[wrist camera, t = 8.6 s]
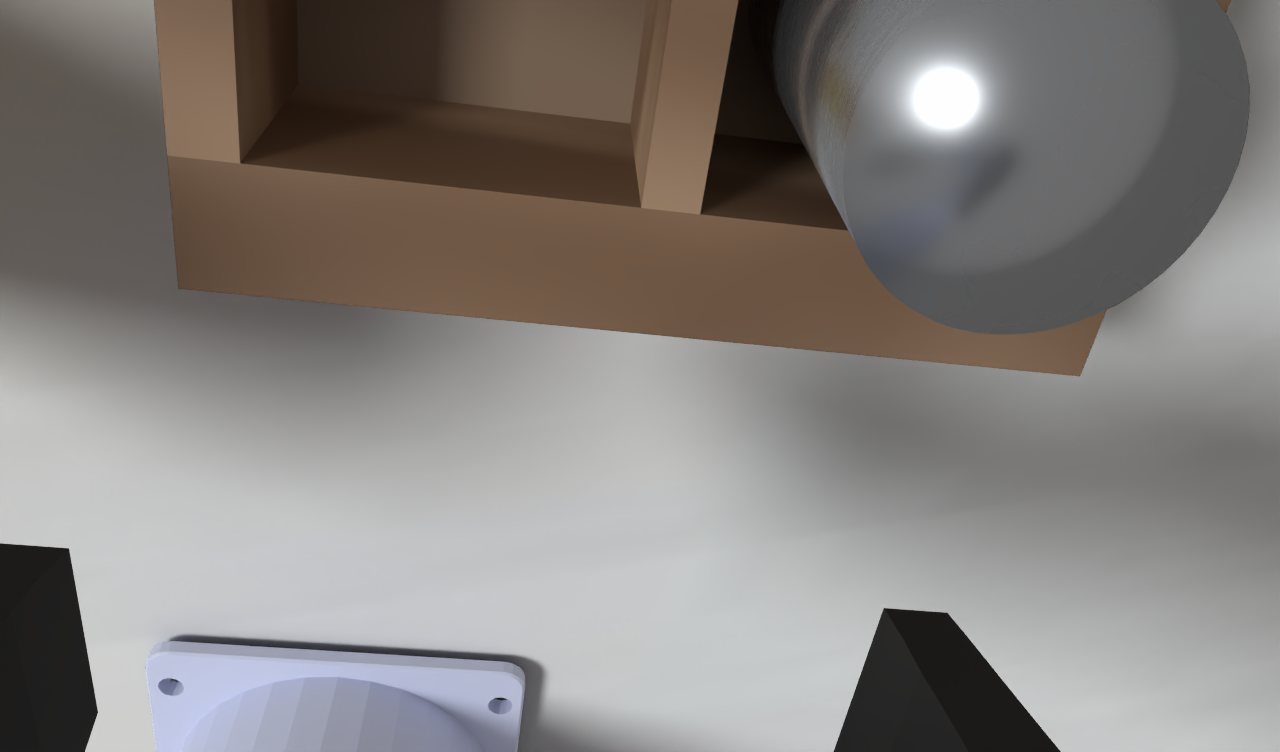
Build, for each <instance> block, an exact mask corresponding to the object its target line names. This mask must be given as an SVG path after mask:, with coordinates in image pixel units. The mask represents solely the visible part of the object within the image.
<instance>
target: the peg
mask: <svg viewBox="0 0 1280 752" xmlns="http://www.w3.org/2000/svg"><path fill="white" fill-rule="evenodd" d="M748 16H749V26H750V32H751V36H752V41H753V45H754V48H755V50H756V53H757V56H758V58H759V61H760V63H761V65H762V67H763V69H764V70H765V72H766V74H767V76H768V78H769V80H770V82H771V84H772V86H773V88H774V89H775V91H776V93H777V95H778V97H779V99H780V101H781V103H782V105H783V107H784V109H785V110H786V112H787V114H788V116H789V118H790V120H791V122H792V124H793V126H794V128H795V129H796V131H797V133H798V135H799V137H800V139H801V141H802V143H803V145H804V147H805V149H806V150H807V152H808V154H809V156H810V158H811V160H812V162H813V164H814V166H815V168H816V169H817V171H818V173H819V175H820V177H821V179H822V181H823V183H824V185H825V187H826V188H827V190H828V192H829V194H830V196H831V198H832V200H833V202H834V204H835V206H836V208H837V209H838V211H839V213H840V215H841V217H842V219H843V221H844V223H845V225H846V227H847V228H848V230H849V232H850V234H851V236H852V238H853V240H854V242H855V244H856V246H857V247H858V249H859V251H860V253H861V255H862V257H863V258H864V260H865V262H866V264H867V266H868V267H869V269H870V270H871V271H872V272H873V274H874V275H875V276H876V278H877V279H878V280H879V282H880V283H881V284H882V285H883V286H884V287H885V288H886V289H887V290H888V291H889V292H890V293H891V294H892V295H893V296H895V297H896V298H897V299H898V300H899V301H901V302H902V303H904V304H905V305H906V306H908V307H909V308H911V309H912V310H914V311H915V312H917V313H919V314H921V315H923V316H925V317H927V318H929V319H931V320H933V321H935V322H938V323H941V324H944V325H947V326H950V327H952V328H955V329H960V330H965V331H970V332H975V333H984V334H997V335H1008V334H1027V333H1033V332H1039V331H1046V330H1051V329H1055V328H1058V327H1062V326H1066V325H1070V324H1073V323H1076V322H1078V321H1081V320H1084V319H1086V318H1089V317H1092V316H1094V315H1097V314H1099V313H1101V312H1103V311H1105V310H1107V309H1109V308H1111V307H1113V306H1115V305H1117V304H1119V303H1121V302H1122V301H1124V300H1125V299H1127V298H1128V297H1130V296H1132V295H1133V294H1135V293H1136V292H1138V291H1140V290H1141V289H1143V288H1144V287H1145V286H1146V285H1148V284H1149V283H1150V282H1152V281H1153V280H1154V279H1155V278H1157V277H1158V276H1159V275H1161V274H1162V273H1163V272H1164V271H1165V270H1166V269H1167V268H1168V267H1170V266H1171V265H1172V264H1173V263H1174V262H1175V261H1176V260H1177V259H1178V258H1179V257H1180V256H1181V255H1182V254H1183V253H1184V252H1185V251H1186V250H1187V248H1188V247H1189V246H1190V245H1191V244H1192V243H1193V241H1194V240H1195V239H1196V238H1197V237H1198V236H1199V234H1200V233H1201V232H1202V230H1203V229H1204V228H1205V226H1206V225H1207V223H1208V222H1209V220H1210V219H1211V217H1212V216H1213V215H1214V213H1215V212H1216V210H1217V208H1218V206H1219V204H1220V203H1221V201H1222V199H1223V197H1224V195H1225V194H1226V192H1227V190H1228V188H1229V186H1230V183H1231V181H1232V178H1233V176H1234V173H1235V171H1236V169H1237V166H1238V164H1239V160H1240V156H1241V153H1242V149H1243V146H1244V142H1245V138H1246V132H1247V125H1248V118H1249V81H1248V74H1247V67H1246V61H1245V58H1244V55H1243V51H1242V48H1241V45H1240V41H1239V38H1238V36H1237V34H1236V32H1235V30H1234V28H1233V26H1232V24H1231V22H1230V20H1229V18H1228V16H1227V15H1226V14H1225V12H1224V11H1223V9H1222V8H1221V7H1220V5H1219V4H1218V3H1217V1H1216V0H749V1H748Z"/></svg>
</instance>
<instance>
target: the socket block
mask: <svg viewBox="0 0 1280 752" xmlns="http://www.w3.org/2000/svg"><path fill="white" fill-rule="evenodd" d="M748 1H749V0H154V6H155V18H156V30H157V42H158V54H159V65H160V77H161V89H162V101H163V112H164V124H165V136H166V148H167V160H168V171H169V183H170V195H171V207H172V219H173V230H174V242H175V254H176V266H177V277H178V288H179V289H189V290H199V291H209V292H220V293H230V294H240V295H250V296H261V297H271V298H281V299H292V300H302V301H312V302H322V303H333V304H343V305H353V306H363V307H374V308H384V309H394V310H405V311H415V312H425V313H435V314H446V315H456V316H466V317H476V318H487V319H497V320H507V321H518V322H528V323H538V324H548V325H559V326H569V327H579V328H589V329H600V330H610V331H620V332H631V333H641V334H651V335H661V336H672V337H682V338H692V339H703V340H713V341H723V342H733V343H744V344H754V345H764V346H774V347H785V348H795V349H805V350H816V351H826V352H836V353H846V354H857V355H867V356H877V357H887V358H898V359H908V360H918V361H929V362H939V363H949V364H959V365H970V366H980V367H990V368H1000V369H1011V370H1021V371H1031V372H1042V373H1052V374H1062V375H1072V376H1080V375H1081V373H1082V370H1083V368H1084V365H1085V363H1086V360H1087V358H1088V355H1089V353H1090V350H1091V348H1092V345H1093V343H1094V340H1095V338H1096V335H1097V333H1098V330H1099V328H1100V325H1101V323H1102V320H1103V318H1104V315H1105V313H1106V310H1105V311H1103V312H1101V313H1099V314H1097V315H1094V316H1092V317H1089V318H1086V319H1084V320H1081V321H1078V322H1076V323H1073V324H1070V325H1066V326H1062V327H1058V328H1055V329H1051V330H1046V331H1039V332H1033V333H1027V334H1008V335H997V334H984V333H975V332H970V331H965V330H960V329H955V328H952V327H950V326H947V325H944V324H941V323H938V322H935V321H933V320H931V319H929V318H927V317H925V316H923V315H921V314H919V313H917V312H915V311H914V310H912V309H911V308H909V307H908V306H906V305H905V304H904V303H902V302H901V301H899V300H898V299H897V298H896V297H895V296H893V295H892V294H891V293H890V292H889V291H888V290H887V289H886V288H885V287H884V286H883V285H882V284H881V283H880V282H879V280H878V279H877V278H876V276H875V275H874V274H873V272H872V271H871V270H870V269H869V267H868V266H867V264H866V262H865V260H864V258H863V257H862V255H861V253H860V251H859V249H858V247H857V246H856V244H855V242H854V240H853V238H852V236H851V234H850V232H849V230H848V228H847V227H846V225H845V223H844V221H843V219H842V217H841V215H840V213H839V211H838V209H837V208H836V206H835V204H834V202H833V200H832V198H831V196H830V194H829V192H828V190H827V188H826V187H825V185H824V183H823V181H822V179H821V177H820V175H819V173H818V171H817V169H816V168H815V166H814V164H813V162H812V160H811V158H810V156H809V154H808V152H807V150H806V149H805V147H804V145H803V143H802V141H801V139H800V137H799V135H798V133H797V131H796V129H795V128H794V126H793V124H792V122H791V120H790V118H789V116H788V114H787V112H786V110H785V109H784V107H783V105H782V103H781V101H780V99H779V97H778V95H777V93H776V91H775V89H774V88H773V86H772V84H771V82H770V80H769V78H768V76H767V74H766V72H765V70H764V69H763V67H762V65H761V63H760V61H759V58H758V56H757V53H756V50H755V48H754V45H753V41H752V36H751V32H750V26H749V16H748ZM1216 1H1217V3H1218V4H1219V5H1220V7H1221V8H1222V9H1223V11H1224V12H1225V13H1226V11H1227V8H1228V6H1229V3H1230V1H1231V0H1216Z"/></svg>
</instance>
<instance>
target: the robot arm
mask: <svg viewBox="0 0 1280 752" xmlns="http://www.w3.org/2000/svg"><path fill="white" fill-rule="evenodd" d="M145 669H146V677H147V684H148V692H149V700H150V708H151V716H152V724H153V732H154V740H155V747H156V752H517V751H518V742H519V734H520V726H521V717H522V709H523V701H524V692H525V674H524V672H523V671H522V669H521V668H520V667H518V666H516V665H515V664H513V663H508V662H501V661H485V660H469V659H453V658H437V657H421V656H405V655H388V654H372V653H356V652H340V651H324V650H308V649H292V648H275V647H259V646H243V645H227V644H211V643H195V642H179V641H168V642H162V643H159V644H157V645H155V646H154V648H153V649H152V650H151V652H150V654H149V656H148V658H147V660H146V666H145ZM168 678H172V679H176V680H178V681H179V682H176V681H172V680H170V679H168ZM500 697H501V698H505V699H507V700H501V701H500V700H496V699H494V698H500ZM97 713H98V711H97V705H96V699H95V694H94V688H93V682H92V677H91V671H90V665H89V660H88V654H87V648H86V643H85V637H84V632H83V626H82V620H81V615H80V609H79V603H78V598H77V592H76V586H75V581H74V575H73V569H72V564H71V558H70V552H69V549H68V548H54V547H41V546H27V545H13V544H0V752H85V749H86V746H87V743H88V740H89V737H90V734H91V731H92V728H93V725H94V722H95V719H96V716H97ZM834 752H1061V751H1060V750H1059V749H1058V748H1057V747H1056V745H1055V744H1054V743H1053V742H1052V741H1051V739H1050V738H1049V737H1048V736H1047V735H1046V733H1045V732H1044V731H1043V730H1042V729H1041V727H1040V726H1039V725H1038V724H1037V722H1036V721H1035V720H1034V719H1033V717H1032V716H1031V715H1030V714H1029V713H1028V711H1027V710H1026V709H1025V708H1024V706H1023V705H1022V704H1021V703H1020V702H1019V700H1018V699H1017V698H1016V697H1015V695H1014V694H1013V693H1012V692H1011V690H1010V689H1009V688H1008V687H1007V686H1006V684H1005V683H1004V682H1003V681H1002V679H1001V678H1000V677H999V676H998V674H997V673H996V672H995V671H994V669H993V668H992V667H991V666H990V664H989V663H988V662H987V661H986V659H985V658H984V657H983V656H982V655H981V653H980V652H979V651H978V650H977V648H976V647H975V646H974V645H973V643H972V642H971V641H970V640H969V638H968V637H967V636H966V635H965V634H964V632H963V631H962V630H961V629H960V628H959V626H958V625H957V624H956V623H955V622H954V620H953V619H952V618H951V617H950V616H949V614H948V613H941V612H927V611H914V610H900V609H887V608H884V610H883V612H882V615H881V618H880V621H879V624H878V627H877V630H876V632H875V635H874V638H873V641H872V644H871V647H870V650H869V652H868V655H867V658H866V661H865V664H864V667H863V670H862V672H861V675H860V678H859V681H858V684H857V687H856V690H855V692H854V695H853V698H852V701H851V704H850V707H849V710H848V712H847V715H846V718H845V721H844V724H843V727H842V730H841V732H840V735H839V738H838V741H837V744H836V747H835V750H834Z"/></svg>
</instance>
